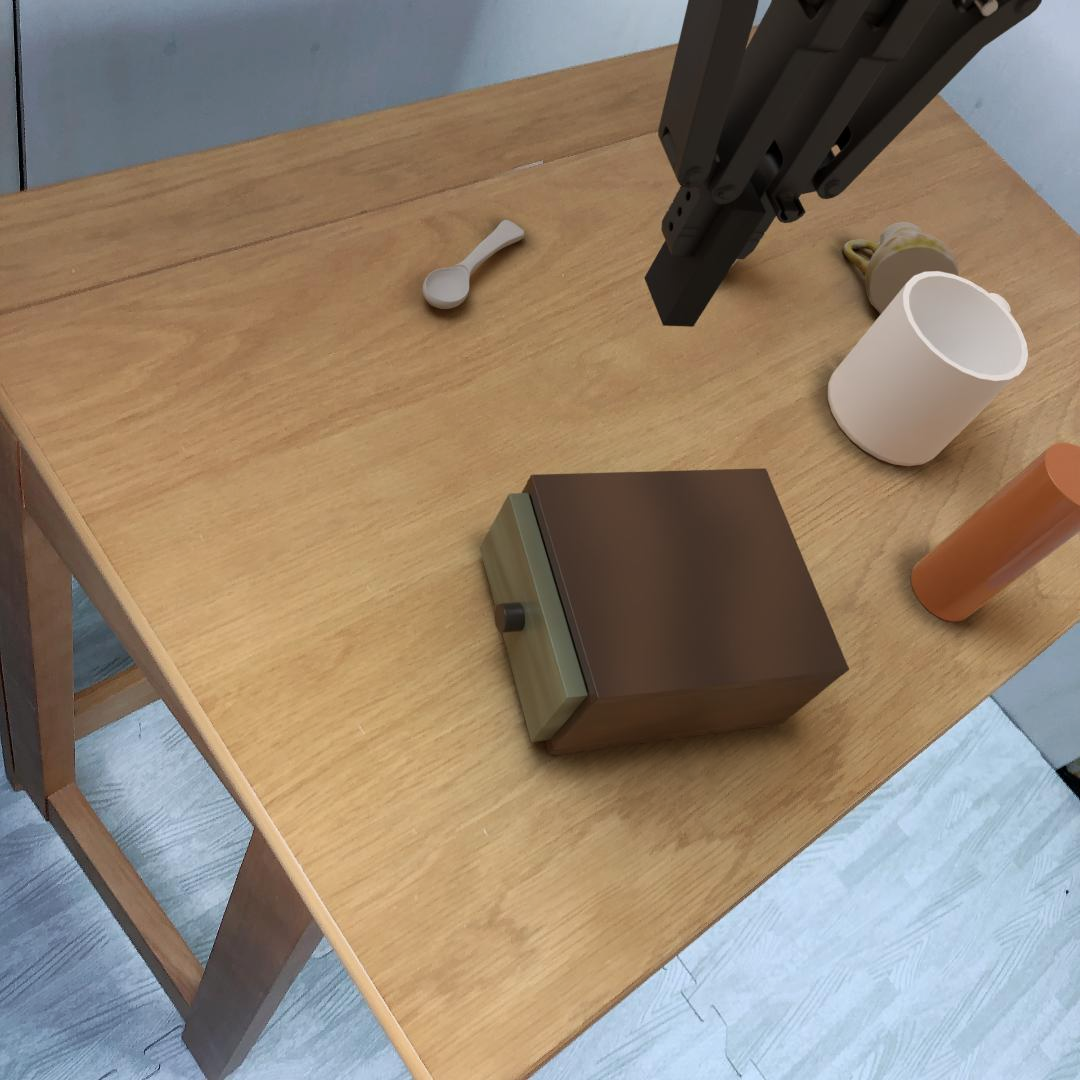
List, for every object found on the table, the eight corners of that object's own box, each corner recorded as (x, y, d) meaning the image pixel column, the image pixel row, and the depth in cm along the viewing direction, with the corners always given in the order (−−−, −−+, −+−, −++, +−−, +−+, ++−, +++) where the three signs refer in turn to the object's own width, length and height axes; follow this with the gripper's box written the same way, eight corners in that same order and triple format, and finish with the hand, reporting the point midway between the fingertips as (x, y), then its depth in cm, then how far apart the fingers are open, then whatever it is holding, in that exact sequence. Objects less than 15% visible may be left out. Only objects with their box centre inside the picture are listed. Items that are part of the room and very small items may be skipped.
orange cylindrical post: (976, 630, 80) (1123, 520, 68) (913, 610, 79) (1051, 496, 68) (969, 570, 82) (1109, 456, 71) (908, 550, 81) (1040, 432, 70)
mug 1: (921, 261, 102) (1004, 230, 92) (873, 351, 100) (953, 329, 90) (860, 209, 99) (938, 172, 90) (810, 300, 97) (885, 272, 88)
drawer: (510, 745, 62) (545, 700, 58) (460, 548, 68) (488, 493, 63) (754, 713, 69) (803, 670, 64) (689, 536, 74) (730, 485, 70)
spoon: (408, 299, 78) (417, 277, 77) (494, 227, 86) (503, 207, 85) (444, 324, 78) (453, 303, 77) (526, 250, 86) (535, 230, 85)
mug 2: (897, 488, 84) (985, 401, 76) (801, 392, 87) (877, 298, 79) (977, 422, 92) (1065, 336, 84) (887, 335, 94) (964, 244, 86)
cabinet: (548, 756, 64) (598, 698, 58) (491, 545, 70) (530, 474, 64) (782, 724, 70) (849, 669, 64) (711, 533, 76) (765, 467, 70)
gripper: (894, -292, 26) (552, 368, 45) (1268, -177, 32) (824, 372, 50) (780, -442, 30) (507, 229, 49) (1134, -315, 35) (765, 246, 54)
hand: (668, 301), depth 49 cm, fingers closed
